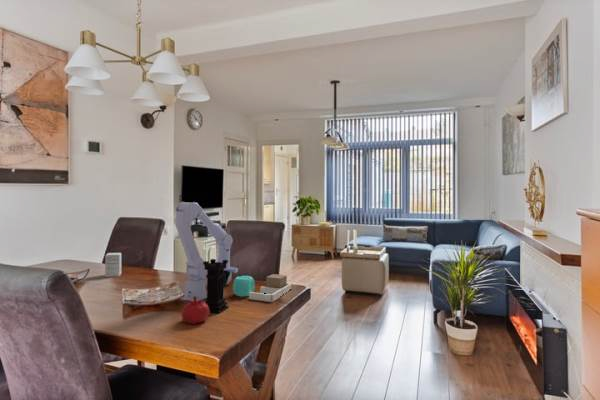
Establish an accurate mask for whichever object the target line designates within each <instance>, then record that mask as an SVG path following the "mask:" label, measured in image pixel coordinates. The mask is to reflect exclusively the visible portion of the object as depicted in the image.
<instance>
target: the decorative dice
mask: <svg viewBox="0 0 600 400" xmlns="http://www.w3.org/2000/svg"><path fill="white" fill-rule="evenodd" d="M255 284H256V283H255V279H254V278H253V277H252V276H250V275H240V276H239V275H237V276H236V277H235V278H234V279H233V283H232V292H233V293H234V295H235V296H236V297H240V298H241V297H243V298H244V297H249V292H254V291H255Z"/></svg>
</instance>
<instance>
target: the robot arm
mask: <svg viewBox="0 0 600 400" xmlns="http://www.w3.org/2000/svg"><path fill="white" fill-rule="evenodd" d="M174 212H175V223H174V224H175V227H176V231H177V234H178V236H179V239H180V241H181V242H180V243H181V245H182V247H183V250H184V253H185V256H186V259H187V261H186V263H185V265H186V270H185V271H186V274H187V275H188V278H189V279H188V281H186V282H185V284H184V288H183V289H184V293H183V294H184V295H183V296H184V297H183V298H182V301H188V300H190V301H194V298H193V297H194V296H195V297H196V301H199V300H201V299H203V300H205V299H207V278H206V275H207V270H205V265H203V262H204V261H205V260H204V259H203V258H202V257H201V256H200V255H201V254H200V253H199V249H198V247H197V244H196V241H195V238H194V234H193V232H192V229H191V226H190V225H191V223H192V222H193V221H194V220H195V219H197V220H198V221H200V222H201V223H202V225H204V226H205V227H206V228H207V232H208V233H209V234H210V235H211V236H212V238H214V239H215V243H216V244H217V262H221V263H223V260H228V263H227V264H226V268H225V269H224V274H225V276H224V287H226V286H227V285H226V283H227V280H228V277H229V275H230V273H231V272H232V273H234V274H236V273H238V272H239V268H238V267H233V266H231V248H232V244H233V241H234V239H233V237H232V235H231V234H230V233H227V232H226V229H225V230H224V229H223V228H222V227H221V224H220V223H217V222H213V221H212V220H211V218H210V217H209V216H208V214H206V212H205V211H204V210H203V207H202V206H200V205H199V203H198V202H195V201H193V202H188V201H187V202H185V201H181V202H179V203H177V206H176V208H175V209H174ZM190 301H189V302H190Z"/></svg>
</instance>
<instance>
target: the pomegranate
mask: <svg viewBox="0 0 600 400" xmlns="http://www.w3.org/2000/svg"><path fill="white" fill-rule="evenodd" d="M193 298H194V301H190V300H187V303H186V304H185V305H184V306H183V307H182V310H181V313H180V314H181V319H182V321H183V322H184V323H186V324H191V325H196V324H199V323H202V322H205V321H206V320H207V319H208V317H209V316H210V315H209V314H211V313H210V309H209V306H208V305H207V303H205V302H204V301H205V300H204V299H201V300H199V301H196V297H195V296H194V297H193Z"/></svg>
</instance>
